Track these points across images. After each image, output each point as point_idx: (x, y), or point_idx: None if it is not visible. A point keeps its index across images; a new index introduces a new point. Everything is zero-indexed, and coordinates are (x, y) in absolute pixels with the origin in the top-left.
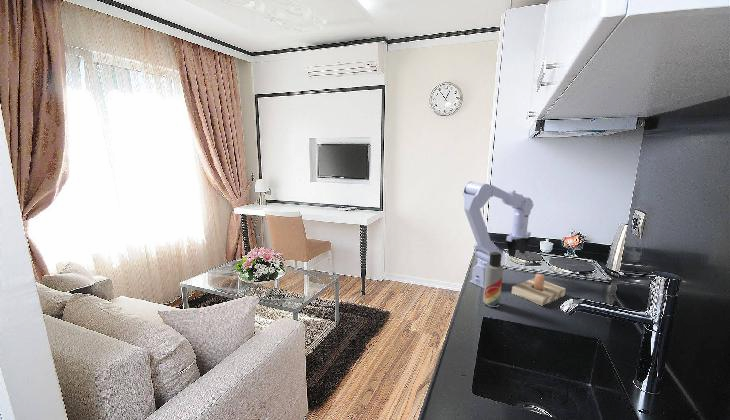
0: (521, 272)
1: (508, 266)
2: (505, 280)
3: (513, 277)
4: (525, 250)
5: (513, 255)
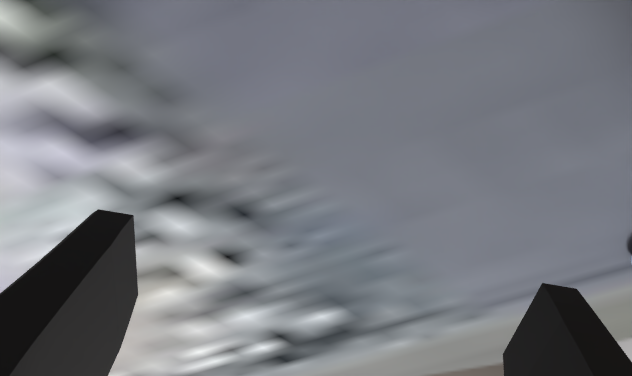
0: (131, 33)
1: (103, 201)
2: (570, 70)
3: (389, 39)
4: (65, 255)
5: (597, 317)
